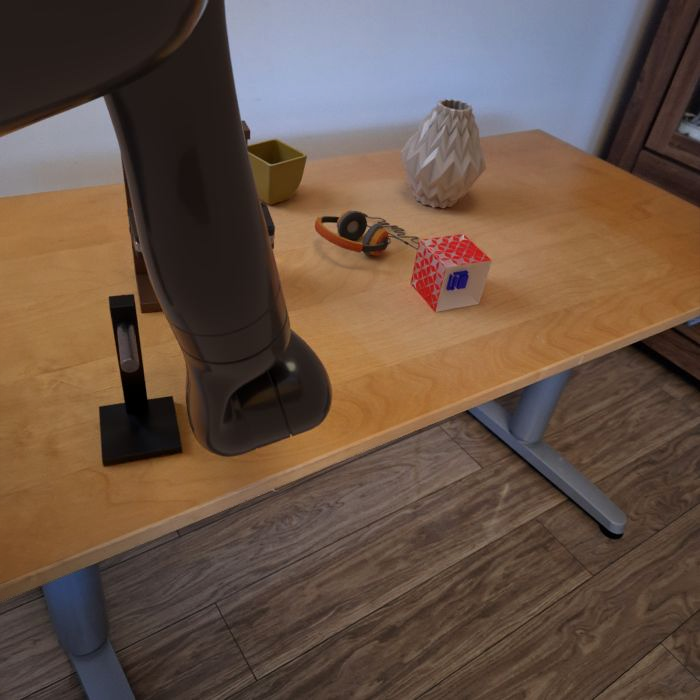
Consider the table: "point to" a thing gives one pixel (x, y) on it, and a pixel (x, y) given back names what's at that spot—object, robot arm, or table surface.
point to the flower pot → (276, 169)
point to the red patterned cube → (450, 272)
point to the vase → (444, 155)
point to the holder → (135, 400)
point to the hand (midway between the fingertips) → (192, 195)
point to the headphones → (358, 233)
